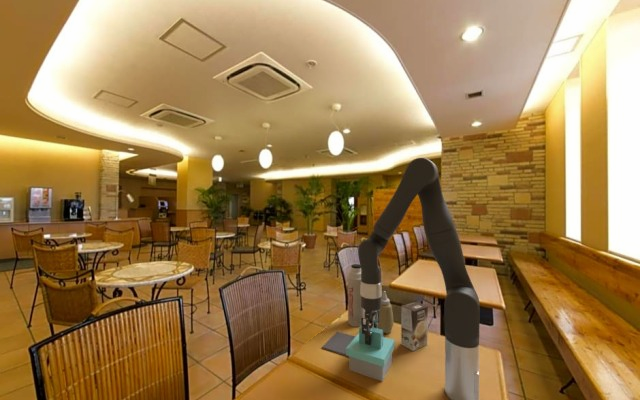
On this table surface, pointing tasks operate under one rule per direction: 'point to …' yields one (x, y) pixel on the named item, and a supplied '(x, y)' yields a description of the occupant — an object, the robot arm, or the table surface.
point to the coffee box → (414, 325)
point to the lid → (371, 347)
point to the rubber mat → (338, 343)
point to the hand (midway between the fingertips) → (371, 339)
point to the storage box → (369, 368)
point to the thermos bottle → (354, 296)
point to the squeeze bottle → (385, 315)
